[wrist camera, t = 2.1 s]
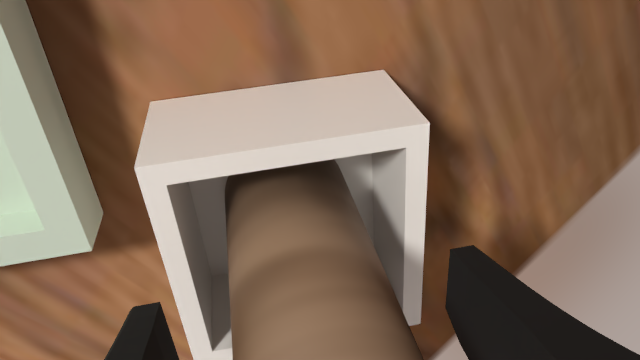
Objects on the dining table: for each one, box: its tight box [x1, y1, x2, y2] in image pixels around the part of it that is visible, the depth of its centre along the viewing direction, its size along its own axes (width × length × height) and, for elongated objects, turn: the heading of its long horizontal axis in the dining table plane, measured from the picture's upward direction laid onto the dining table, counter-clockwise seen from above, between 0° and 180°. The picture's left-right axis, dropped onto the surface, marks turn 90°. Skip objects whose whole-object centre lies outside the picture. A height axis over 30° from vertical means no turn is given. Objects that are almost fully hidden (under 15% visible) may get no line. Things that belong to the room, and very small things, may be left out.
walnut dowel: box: [225, 159, 424, 360], centre depth 12 cm, size 4×4×11 cm
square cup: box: [134, 70, 430, 360], centre depth 16 cm, size 7×7×4 cm
